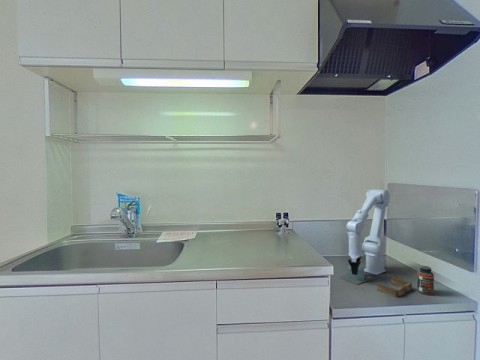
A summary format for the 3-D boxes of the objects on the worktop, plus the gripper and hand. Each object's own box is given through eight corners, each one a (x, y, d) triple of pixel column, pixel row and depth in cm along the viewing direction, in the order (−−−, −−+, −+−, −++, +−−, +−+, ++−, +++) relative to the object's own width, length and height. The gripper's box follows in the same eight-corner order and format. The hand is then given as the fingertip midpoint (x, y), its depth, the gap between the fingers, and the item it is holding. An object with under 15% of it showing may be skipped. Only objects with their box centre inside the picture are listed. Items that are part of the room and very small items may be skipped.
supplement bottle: (421, 295, 116) (421, 269, 115) (414, 289, 121) (414, 264, 121) (436, 295, 115) (436, 269, 114) (429, 289, 121) (428, 264, 120)
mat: (353, 273, 142) (353, 271, 142) (371, 279, 133) (371, 278, 133) (339, 278, 136) (339, 277, 136) (357, 285, 127) (357, 283, 127)
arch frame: (391, 282, 128) (391, 276, 128) (411, 289, 121) (411, 283, 121) (377, 290, 122) (377, 283, 122) (397, 297, 114) (397, 290, 114)
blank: (349, 275, 138) (349, 265, 137) (364, 277, 134) (364, 267, 134) (348, 278, 134) (348, 268, 134) (363, 280, 131) (363, 270, 131)
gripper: (362, 249, 126) (363, 278, 126) (364, 242, 138) (364, 267, 139) (346, 248, 129) (347, 276, 129) (349, 240, 142) (350, 265, 142)
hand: (355, 271), depth 134 cm, fingers open, 7 cm apart
